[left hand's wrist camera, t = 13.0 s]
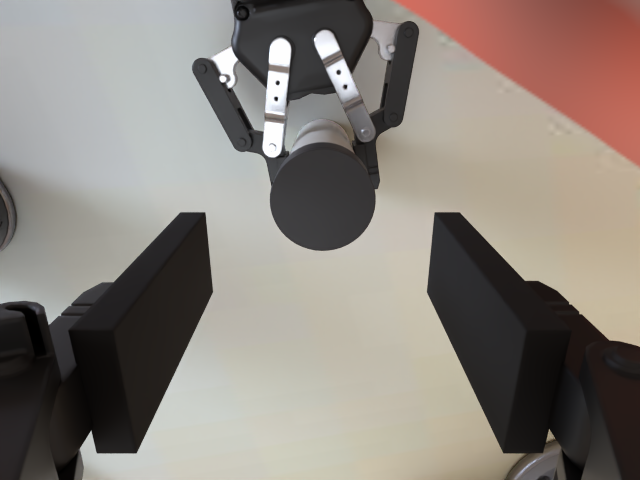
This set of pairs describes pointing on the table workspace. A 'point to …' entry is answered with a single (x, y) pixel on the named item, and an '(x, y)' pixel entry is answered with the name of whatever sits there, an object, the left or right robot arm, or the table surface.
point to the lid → (322, 196)
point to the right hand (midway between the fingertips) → (329, 200)
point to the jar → (322, 134)
